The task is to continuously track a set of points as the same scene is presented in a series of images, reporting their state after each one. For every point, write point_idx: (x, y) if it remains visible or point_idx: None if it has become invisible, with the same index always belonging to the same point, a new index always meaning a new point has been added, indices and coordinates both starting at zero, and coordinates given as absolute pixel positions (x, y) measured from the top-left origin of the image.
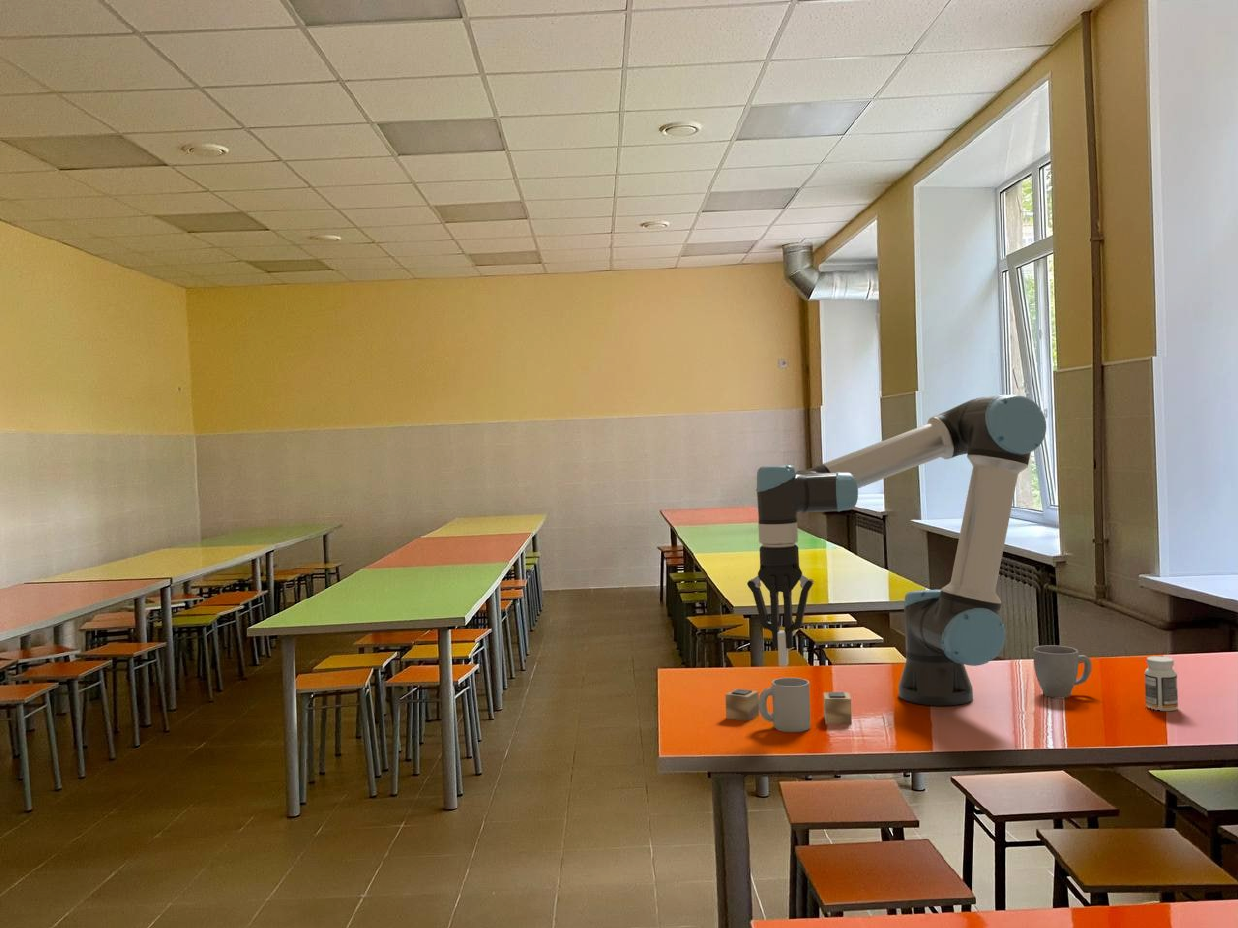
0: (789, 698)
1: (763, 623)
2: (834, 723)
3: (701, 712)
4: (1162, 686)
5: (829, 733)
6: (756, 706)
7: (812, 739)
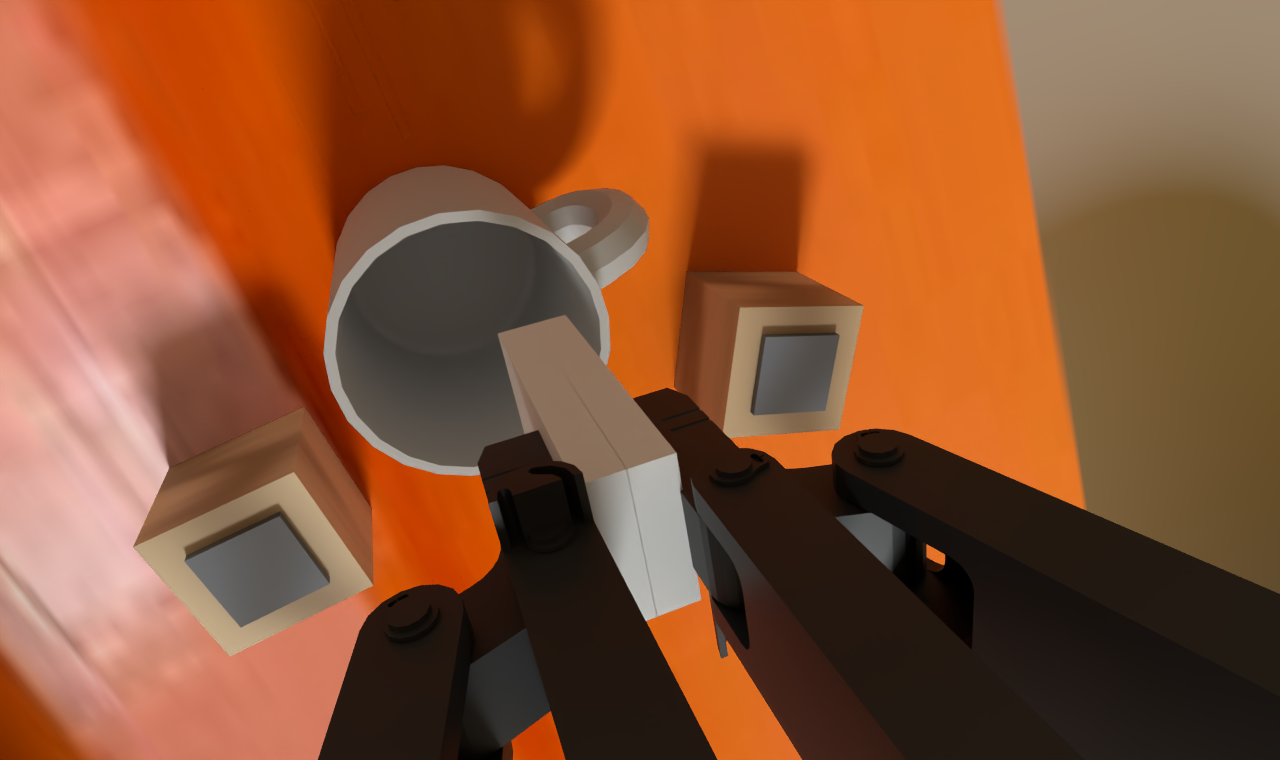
0: (419, 200)
1: (923, 461)
2: (260, 427)
3: (918, 308)
4: None
5: (191, 249)
6: (695, 382)
7: (224, 90)
